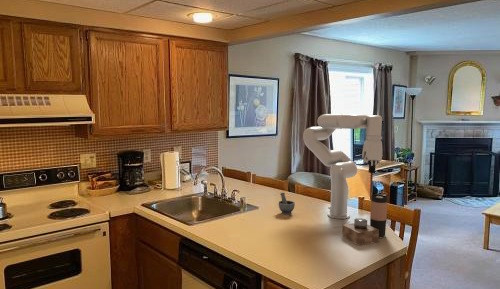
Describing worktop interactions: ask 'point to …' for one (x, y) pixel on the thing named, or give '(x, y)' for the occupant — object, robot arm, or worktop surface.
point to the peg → (360, 223)
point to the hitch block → (360, 234)
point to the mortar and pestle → (286, 205)
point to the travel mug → (379, 213)
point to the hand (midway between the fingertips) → (371, 172)
